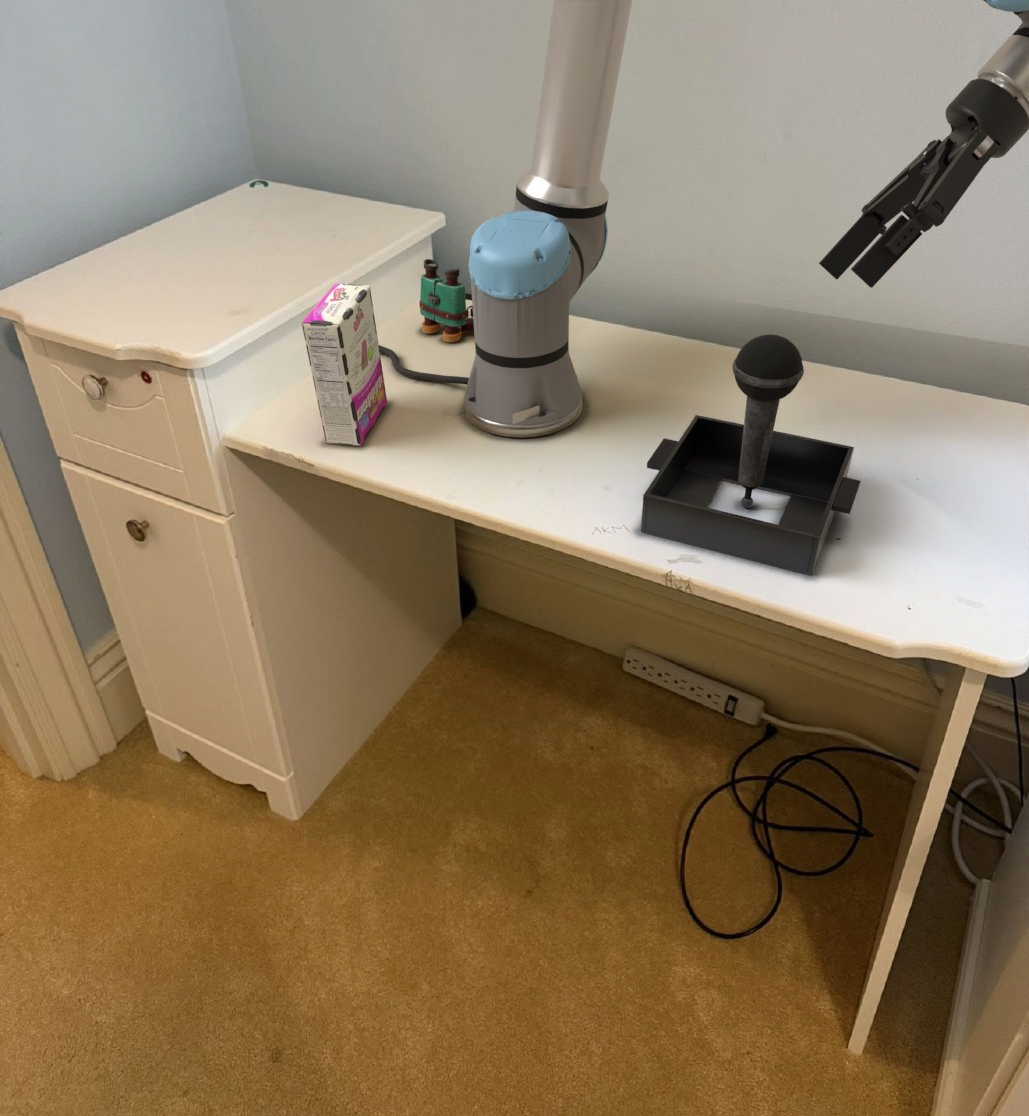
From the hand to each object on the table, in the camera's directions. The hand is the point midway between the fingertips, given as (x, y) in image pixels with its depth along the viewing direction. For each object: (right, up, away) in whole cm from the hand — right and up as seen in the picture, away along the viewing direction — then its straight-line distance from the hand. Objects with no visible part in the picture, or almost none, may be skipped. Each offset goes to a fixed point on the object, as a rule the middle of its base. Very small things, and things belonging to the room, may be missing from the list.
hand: (843, 275), depth 97 cm
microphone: (-9, -25, +4) cm, 27 cm away
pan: (-9, -24, +3) cm, 26 cm away
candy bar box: (-55, -13, +20) cm, 60 cm away
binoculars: (-44, +5, +42) cm, 61 cm away
